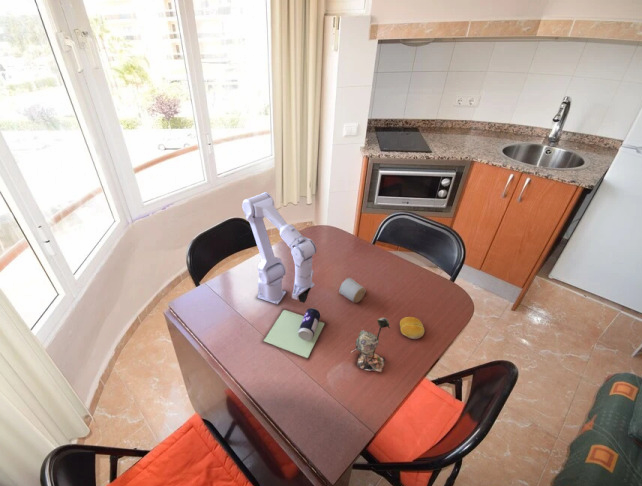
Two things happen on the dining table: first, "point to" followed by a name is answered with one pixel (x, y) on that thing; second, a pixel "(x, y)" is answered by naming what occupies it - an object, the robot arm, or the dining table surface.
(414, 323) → the bread roll
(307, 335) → the beverage can
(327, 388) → the dining table surface
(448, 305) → the dining table surface
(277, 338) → the mat
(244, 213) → the robot arm
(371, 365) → the grey figurine
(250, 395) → the dining table surface
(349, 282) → the white cylinder
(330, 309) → the dining table surface
